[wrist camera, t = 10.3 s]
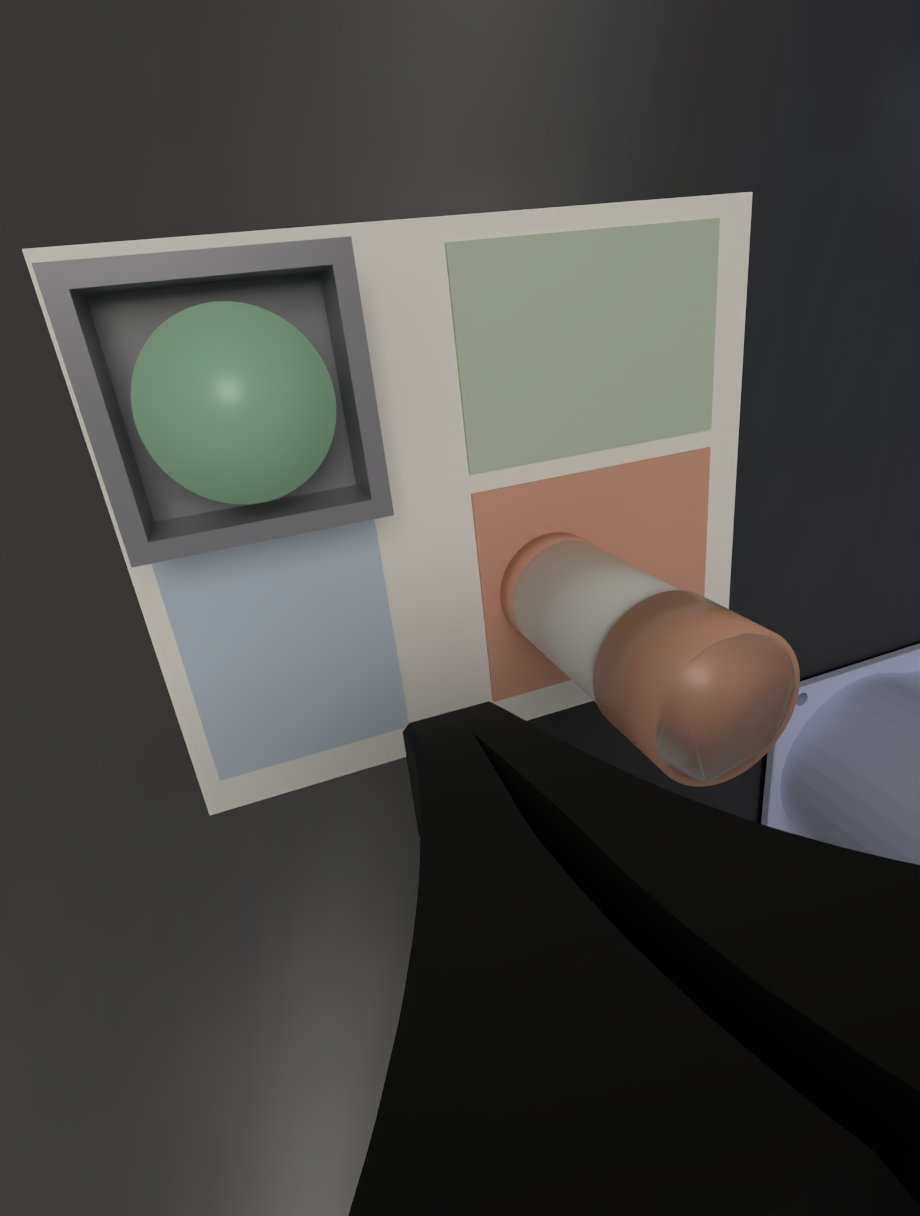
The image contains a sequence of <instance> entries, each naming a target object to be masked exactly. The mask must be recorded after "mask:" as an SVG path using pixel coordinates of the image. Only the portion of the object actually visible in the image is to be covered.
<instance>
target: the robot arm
mask: <svg viewBox="0 0 920 1216" xmlns="http://www.w3.org/2000/svg"><path fill="white" fill-rule="evenodd" d="M403 738H404V745H405V751H406V757H407V763H408V769H409V776H410V782H411V788H412V794H413V800H414V807H415V813H416V819H417V825H418V832H419V835H420V872H419V886H418V898H417V908H416V917H415V926H414V934H413V942H412V948H411V954H410V960H409V967H408V973H407V979H406V986H405V992H404V997H403V1002H402V1008H401V1013H400V1018H399V1023H398V1028H397V1032H396V1036H395V1041H394V1045H393V1049H392V1054H391V1058H390V1062H389V1067H388V1071H387V1075H386V1079H385V1084H384V1088H383V1092H382V1097H381V1101H380V1105H379V1109H378V1114H377V1118H376V1122H375V1125H374V1129H373V1133H372V1137H371V1141H370V1144H369V1148H368V1152H367V1155H366V1158H365V1162H364V1165H363V1169H362V1172H361V1175H360V1179H359V1182H358V1186H357V1189H356V1192H355V1196H354V1199H353V1203H352V1206H351V1209H350V1213H349V1216H920V643H919V644H916V645H913V646H910V647H907V648H904V649H900V650H897V651H894V652H891V653H888V654H885V655H882V656H879V657H875V658H872V659H869V660H866V661H863V662H860V663H857V664H854V665H850V666H847V667H844V668H841V669H838V670H835V671H832V672H829V673H826V674H822V675H819V676H816V677H813V678H810V679H807V680H804V681H801V682H800V685H799V693H798V698H797V702H796V705H795V708H794V711H793V713H792V716H791V718H790V720H789V722H788V724H787V726H786V728H785V730H784V731H783V733H782V734H781V736H780V737H779V739H778V740H777V741H776V743H775V744H774V745H773V747H772V748H771V749H770V750H769V751H768V754H767V765H766V776H765V787H764V798H763V808H762V819H761V824H759V823H756V822H753V821H750V820H747V819H744V818H741V817H738V816H735V815H733V814H730V813H727V812H724V811H721V810H718V809H716V808H713V807H710V806H707V805H704V804H701V803H699V802H696V801H693V800H691V799H688V798H685V797H683V796H680V795H678V794H675V793H673V792H670V791H668V790H666V789H663V788H661V787H659V786H656V785H654V784H652V783H650V782H647V781H645V780H643V779H640V778H638V777H636V776H634V775H631V774H629V773H627V772H624V771H622V770H620V769H618V768H616V767H614V766H612V765H610V764H608V763H606V762H603V761H601V760H599V759H597V758H595V757H593V756H591V755H589V754H587V753H585V752H583V751H581V750H579V749H578V748H576V747H574V746H572V745H570V744H568V743H566V742H564V741H562V740H560V739H558V738H557V737H555V736H553V735H551V734H549V733H547V732H545V731H544V730H542V729H540V728H538V727H536V726H534V725H533V724H531V723H529V722H527V721H525V720H524V719H522V718H520V717H518V716H516V715H514V714H513V713H511V712H509V711H507V710H505V709H503V708H502V707H500V706H498V705H496V704H494V703H492V702H490V701H488V702H484V703H481V704H477V705H473V706H470V707H466V708H462V709H459V710H455V711H451V712H448V713H444V714H440V715H437V716H433V717H429V718H426V719H422V720H418V721H415V722H411V723H409V724H408V725H407V727H406V728H405V729H404V731H403Z"/></svg>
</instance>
